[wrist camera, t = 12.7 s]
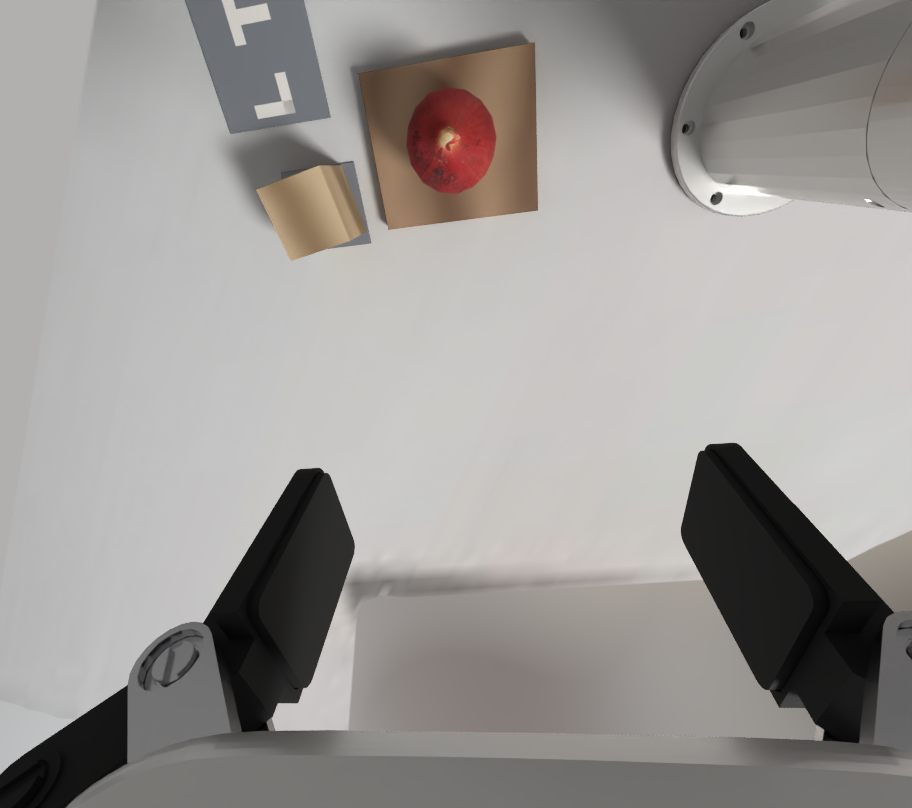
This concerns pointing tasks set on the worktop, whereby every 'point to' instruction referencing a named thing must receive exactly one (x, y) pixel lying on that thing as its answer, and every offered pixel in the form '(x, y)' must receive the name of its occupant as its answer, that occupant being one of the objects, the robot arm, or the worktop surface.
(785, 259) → the worktop surface
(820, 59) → the robot arm
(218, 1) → the tile
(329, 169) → the oak block
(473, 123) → the onion
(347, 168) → the code tile
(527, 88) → the board
